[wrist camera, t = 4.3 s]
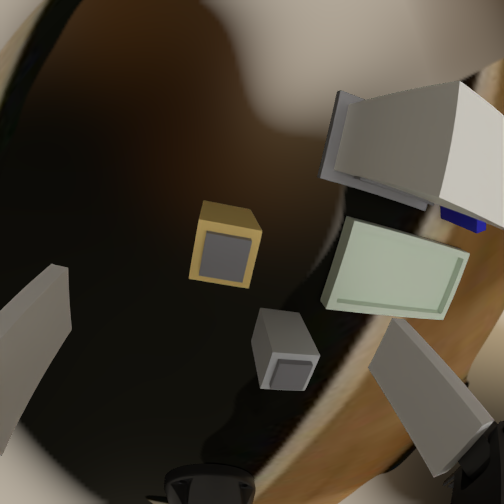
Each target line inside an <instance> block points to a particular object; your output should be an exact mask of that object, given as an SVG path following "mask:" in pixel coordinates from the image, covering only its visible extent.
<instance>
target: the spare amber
mask: <svg viewBox="0 0 504 504" xmlns="http://www.w3.org/2000/svg"><path fill="white" fill-rule="evenodd" d="M261 235H262V229H261V228H260V226H259V224H258V222H257V220H256V219H255V217H254V215H253V213H252V212H251V210H250V209H246V208H240V207H235V206H230V205H225V204H219V203H215V202H209V201H203V204H202V209H201V213H200V217H199V222H198V227H197V233H196V238H195V244H194V250H193V255H192V262H191V268H190V274H189V279H194V280H200V281H205V282H211V283H217V284H223V285H230V286H236V287H243V288H249V285H250V281H251V277H252V272H253V268H254V264H255V260H256V256H257V252H258V248H259V244H260V240H261Z"/></svg>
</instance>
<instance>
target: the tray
mask: <svg viewBox="0 0 504 504" xmlns="http://www.w3.org/2000/svg"><path fill="white" fill-rule="evenodd" d="M469 255H470V253H468V252H466V251H464V250H462V249H460V248H457V247H454V246H451V245H447V244H444V243H441V242H438V241H434V240H431V239H428V238H424V237H421V236H418V235H414V234H411V233H407V232H404V231H400V230H397V229H393V228H390V227H386V226H382V225H379V224H375V223H371V222H367V221H364V220H360V219H356V218H352V217H348V216H346V219H345V223H344V226H343V230H342V233H341V236H340V240H339V243H338V246H337V250H336V253H335V256H334V259H333V262H332V266H331V269H330V272H329V275H328V278H327V281H326V284H325V287H324V290H323V293H322V296H321V299H320V301H321V302H322V304H323V305H324V307H325V308H326V309H330V310H339V311H348V312H357V313H367V314H377V315H387V316H398V317H410V318H423V319H436V320H443V319H444V317H445V315H446V312H447V310H448V308H449V306H450V303H451V301H452V299H453V296H454V294H455V292H456V289H457V287H458V284H459V282H460V279H461V277H462V274H463V271H464V269H465V266H466V263H467V261H468V258H469Z"/></svg>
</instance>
